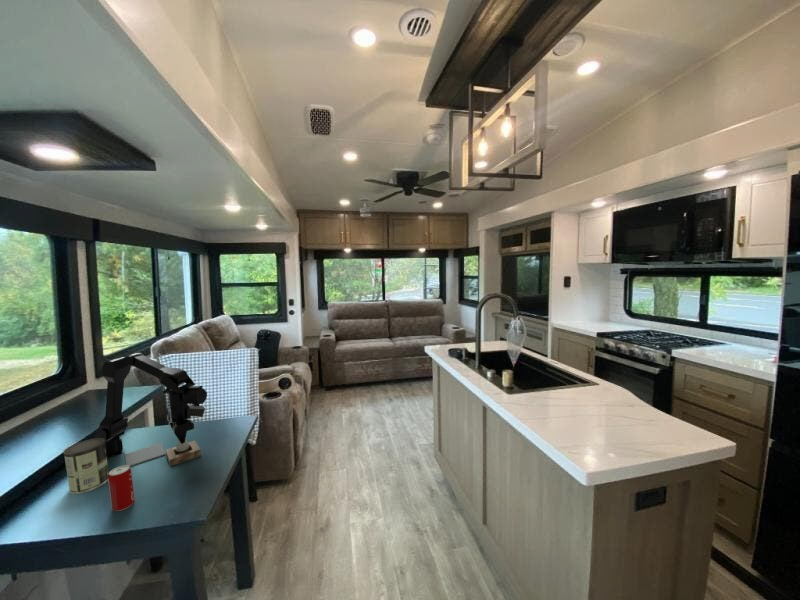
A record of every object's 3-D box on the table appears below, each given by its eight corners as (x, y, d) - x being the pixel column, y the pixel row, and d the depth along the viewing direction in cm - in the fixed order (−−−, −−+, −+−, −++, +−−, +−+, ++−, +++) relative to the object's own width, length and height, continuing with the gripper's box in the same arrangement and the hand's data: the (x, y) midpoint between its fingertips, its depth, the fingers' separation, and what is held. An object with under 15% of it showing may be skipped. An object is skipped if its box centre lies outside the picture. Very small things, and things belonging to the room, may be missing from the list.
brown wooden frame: (170, 466, 122) (169, 460, 122) (166, 456, 129) (165, 449, 129) (201, 455, 129) (200, 449, 128) (195, 446, 136) (194, 440, 136)
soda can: (136, 505, 101) (132, 468, 100) (113, 515, 98) (108, 476, 96) (133, 497, 105) (129, 461, 104) (111, 506, 101) (106, 469, 100)
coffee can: (98, 473, 119) (93, 436, 118) (116, 477, 116) (112, 439, 115) (61, 491, 110) (55, 451, 108) (80, 497, 106) (75, 455, 105)
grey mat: (126, 468, 122) (126, 466, 122) (124, 455, 131) (124, 454, 131) (165, 455, 130) (165, 453, 130) (161, 444, 139) (161, 442, 139)
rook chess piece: (180, 446, 131) (178, 427, 130) (191, 445, 131) (190, 426, 130) (173, 452, 126) (171, 432, 126) (185, 451, 127) (183, 431, 126)
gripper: (207, 403, 126) (211, 442, 127) (196, 391, 139) (200, 426, 141) (172, 412, 118) (177, 454, 119) (165, 399, 132) (168, 436, 133)
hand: (182, 441), depth 128 cm, fingers closed on rook chess piece, 3 cm apart
